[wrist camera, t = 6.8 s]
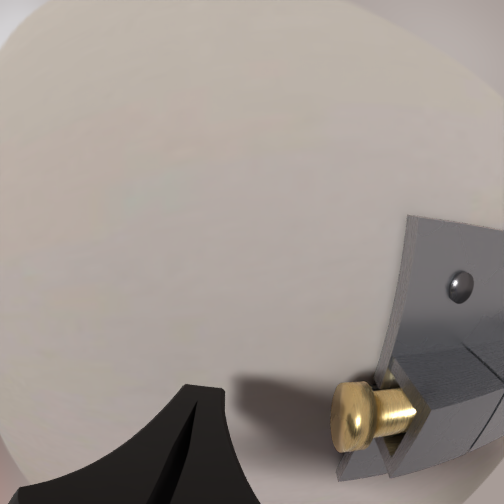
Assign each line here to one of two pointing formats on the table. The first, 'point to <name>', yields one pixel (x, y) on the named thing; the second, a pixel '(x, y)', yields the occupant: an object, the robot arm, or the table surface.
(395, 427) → the pin
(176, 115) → the table surface
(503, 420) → the hinge
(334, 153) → the table surface
